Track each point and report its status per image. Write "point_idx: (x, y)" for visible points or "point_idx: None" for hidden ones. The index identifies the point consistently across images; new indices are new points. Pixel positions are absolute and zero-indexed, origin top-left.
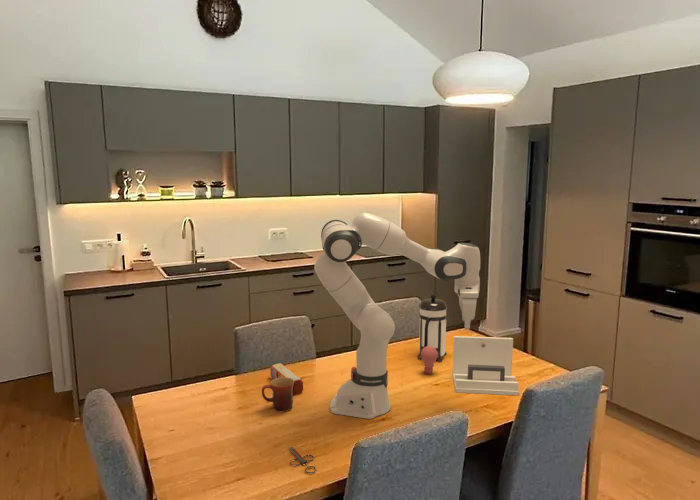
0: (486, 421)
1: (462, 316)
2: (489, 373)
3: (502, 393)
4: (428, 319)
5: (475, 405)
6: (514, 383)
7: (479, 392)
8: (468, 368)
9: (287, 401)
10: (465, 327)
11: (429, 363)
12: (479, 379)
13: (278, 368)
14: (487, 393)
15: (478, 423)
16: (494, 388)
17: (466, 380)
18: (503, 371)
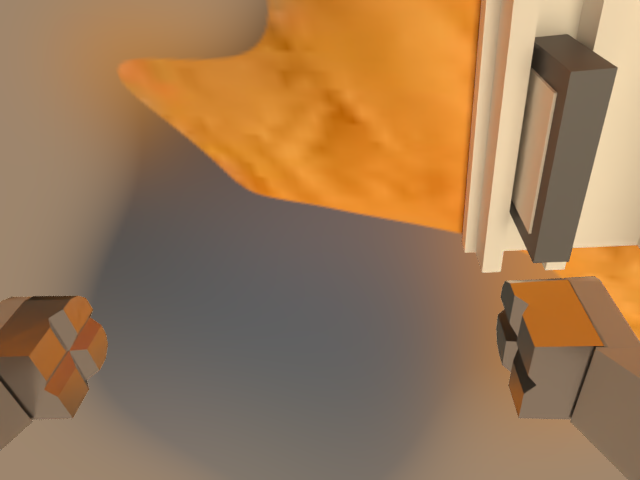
0: (202, 111)
1: (543, 343)
2: (533, 178)
3: (467, 191)
4: None
5: (340, 69)
6: (483, 258)
7: (475, 94)
8: (566, 68)
9: None
10: (2, 315)
11: None
12: (530, 113)
13: None
14: (471, 129)
15: (172, 78)
16: (485, 168)
17: (518, 38)
18: (528, 247)
